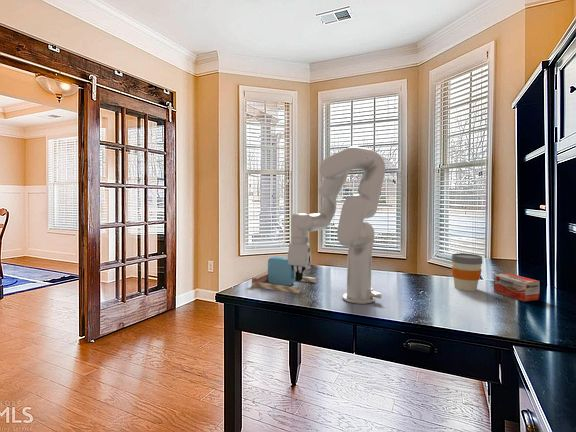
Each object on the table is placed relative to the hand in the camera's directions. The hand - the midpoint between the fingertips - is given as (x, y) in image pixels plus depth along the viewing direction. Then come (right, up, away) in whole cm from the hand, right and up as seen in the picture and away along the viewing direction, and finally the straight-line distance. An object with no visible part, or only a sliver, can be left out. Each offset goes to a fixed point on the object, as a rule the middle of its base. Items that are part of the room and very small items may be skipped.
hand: (298, 280), depth 163 cm
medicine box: (+92, -5, -11) cm, 92 cm away
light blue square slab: (-8, -2, +5) cm, 10 cm away
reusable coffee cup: (+75, -4, -1) cm, 75 cm away
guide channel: (-6, -2, +3) cm, 8 cm away
